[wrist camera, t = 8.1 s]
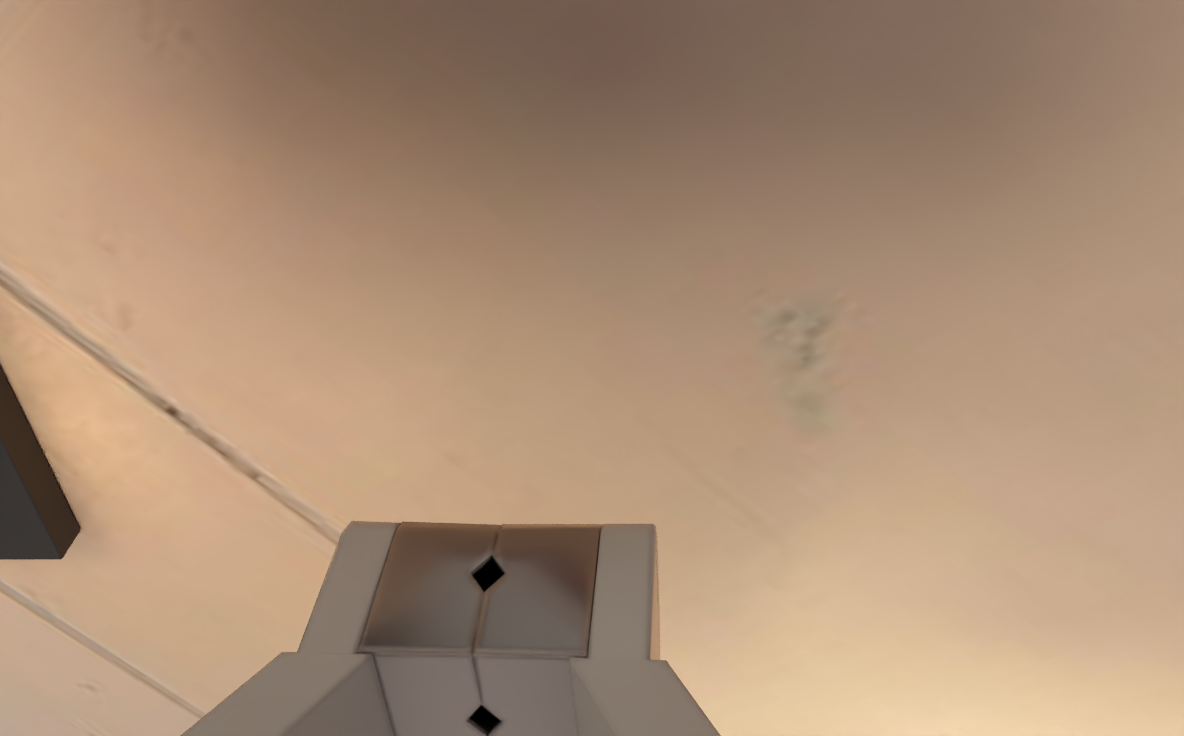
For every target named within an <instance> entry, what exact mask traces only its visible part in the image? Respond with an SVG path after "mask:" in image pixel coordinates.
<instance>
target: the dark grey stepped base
mask: <svg viewBox="0 0 1184 736" xmlns="http://www.w3.org/2000/svg"><path fill="white" fill-rule="evenodd" d="M79 532H80V529H79V527H78V525H77V523H76V521H75V519H74V517H73V515H72V513H71V511H70V509H69V507H68V505H67V503H66V501H65V498H64V496H63V494H62V492H61V490H60V488H59V486H58V484H57V482H56V480H55V478H54V476H53V474H52V472H51V470H50V468H49V466H48V464H47V462H46V460H45V458H44V456H43V454H42V452H41V449H40V447H39V445H38V443H37V441H36V439H35V437H34V435H33V433H32V431H31V429H30V427H29V425H28V423H27V421H26V419H25V417H24V415H23V413H22V411H21V409H20V407H19V405H18V403H17V400H16V398H15V396H14V394H13V392H12V390H11V388H10V386H9V384H8V382H7V380H6V378H5V376H4V374H3V372H2V370H1V368H0V559H62V558H63V557H64V555H65V554H66V552H67V550H68V549H69V547H70V546H71V544H72V543H73V541H74V540H75V538H76V536H77V535H78V533H79Z"/></svg>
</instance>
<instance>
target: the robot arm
mask: <svg viewBox="0 0 1184 736" xmlns="http://www.w3.org/2000/svg"><path fill="white" fill-rule="evenodd" d="M181 736H720V734H719V733H718V732H717V730H716V729H715V727H714V726H713V725H712V723H711V722H710V720H709V719H708V718H707V716H706V715H705V714H704V712H703V711H702V709H701V708H700V707H699V705H698V704H697V702H696V701H695V700H694V698H693V697H692V696H691V694H690V693H689V691H688V690H687V689H686V687H685V686H684V685H683V683H682V682H681V680H680V679H679V678H678V676H677V675H676V673H675V672H674V671H673V669H672V668H671V667H670V665H669V664H668V662H667V661H666V660H660V615H659V582H658V552H657V532H656V526H655V525H654V524H502V525H486V524H456V523H426V522H402V523H391V522H365V521H352V522H351V523H350V524H349V525H348V526H347V527H346V528H345V530H344V531H343V532H342V533H341V536H340V539H339V541H338V544H337V547H336V549H335V552H334V555H333V557H332V560H331V563H330V565H329V568H328V571H327V573H326V576H325V579H324V581H323V584H322V587H321V589H320V592H319V595H318V598H317V600H316V603H315V606H314V608H313V611H312V614H311V616H310V619H309V622H308V624H307V627H306V630H305V632H304V635H303V638H302V640H301V643H300V646H299V648H298V651H297V652H282V653H280V654H279V655H278V656H277V657H276V658H274V659H273V660H272V661H271V662H270V663H268V664H267V665H266V666H265V667H263V668H262V669H261V670H260V671H259V672H257V673H256V674H255V675H254V676H252V677H251V678H250V679H249V680H248V681H246V682H245V683H244V684H243V685H242V686H240V687H239V688H238V689H237V690H235V691H234V692H233V693H232V694H231V695H229V696H228V697H227V698H226V699H225V700H223V701H222V702H221V703H220V704H218V705H217V706H216V707H215V708H214V709H212V710H211V711H210V712H209V713H207V714H206V715H205V716H204V717H203V718H201V719H200V720H199V721H198V722H197V723H195V724H194V725H193V726H192V727H190V728H189V729H188V730H187V731H186V732H184V733H183V734H182V735H181Z"/></svg>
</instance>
